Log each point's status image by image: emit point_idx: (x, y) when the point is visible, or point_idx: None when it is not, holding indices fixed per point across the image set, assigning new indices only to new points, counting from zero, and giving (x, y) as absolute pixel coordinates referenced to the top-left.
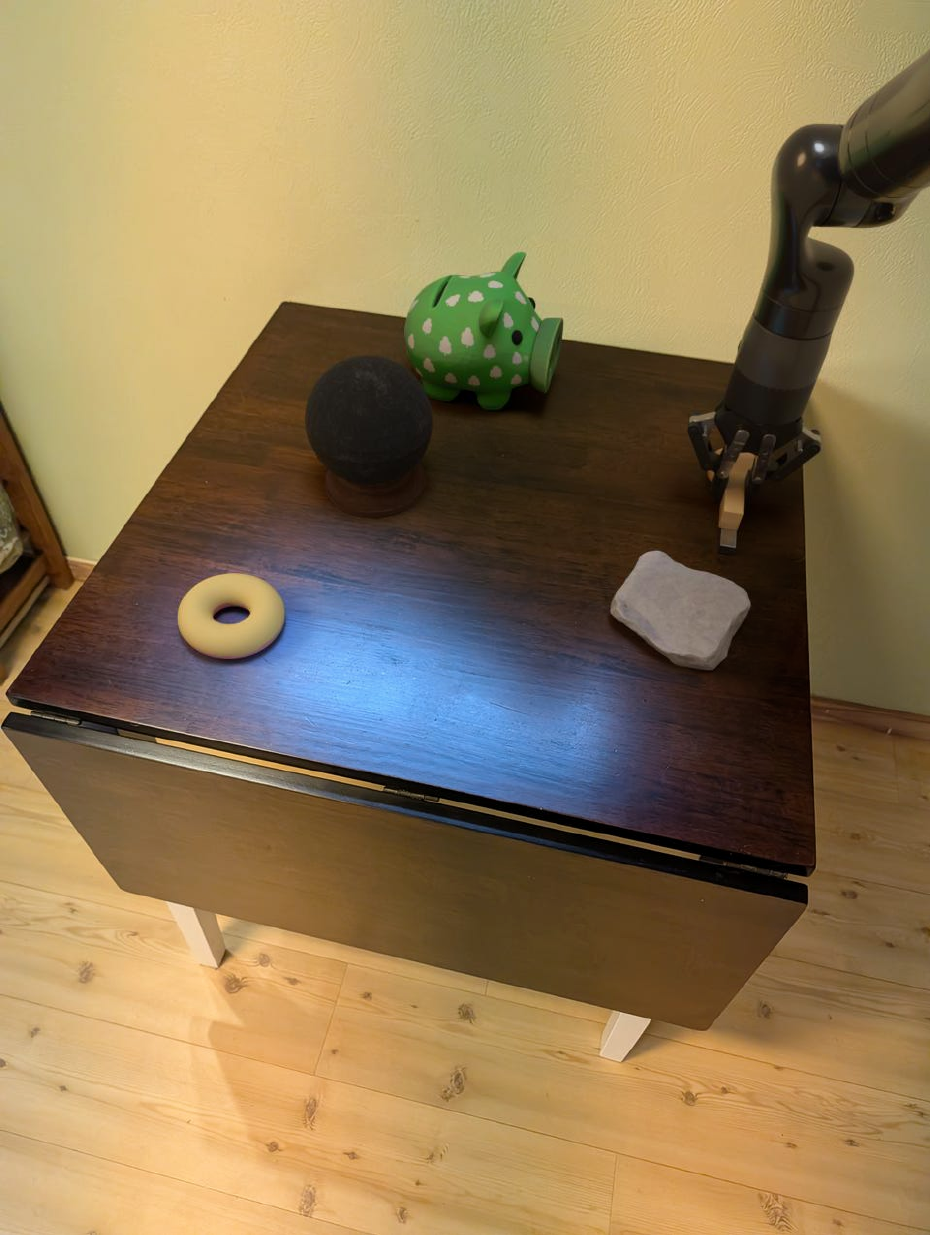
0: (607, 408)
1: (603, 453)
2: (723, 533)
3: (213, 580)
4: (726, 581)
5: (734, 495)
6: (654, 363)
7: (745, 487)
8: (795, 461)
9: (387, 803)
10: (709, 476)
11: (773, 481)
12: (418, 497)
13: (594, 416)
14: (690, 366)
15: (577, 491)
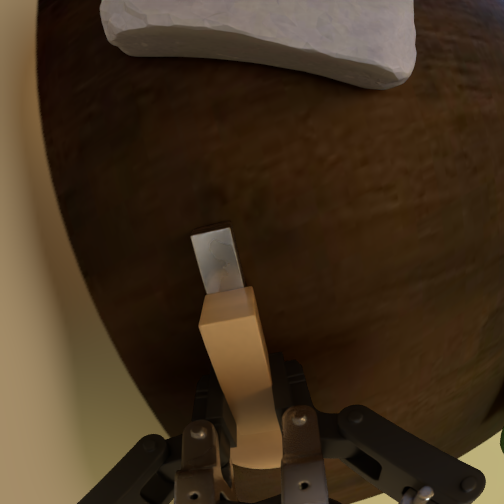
0: (443, 424)
1: (460, 360)
2: (233, 271)
3: None
4: (166, 9)
5: (243, 376)
6: None
7: (225, 405)
8: (111, 495)
9: None
10: None
11: (158, 435)
12: None
13: (460, 405)
14: (346, 501)
15: (495, 265)
